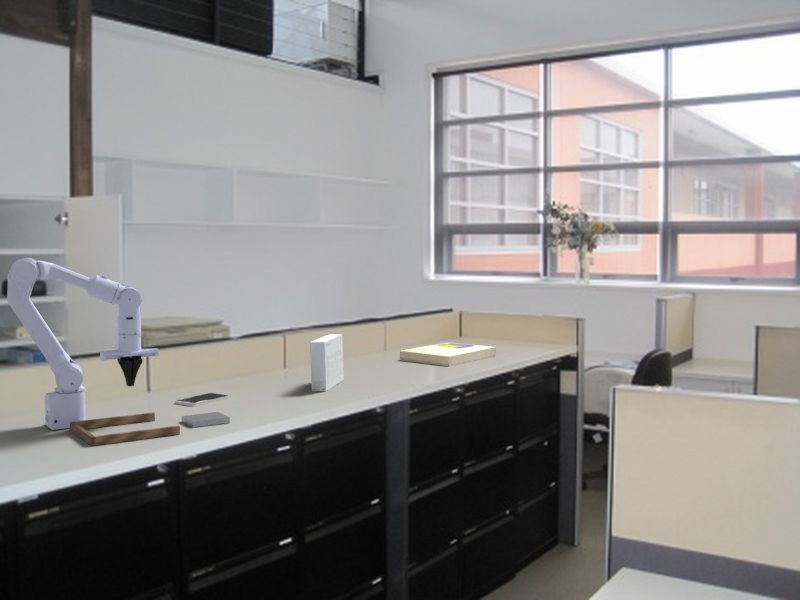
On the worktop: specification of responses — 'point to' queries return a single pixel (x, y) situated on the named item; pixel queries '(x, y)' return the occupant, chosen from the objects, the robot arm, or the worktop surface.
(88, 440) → the walnut u-shaped frame
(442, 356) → the puzzle box
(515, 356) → the worktop surface
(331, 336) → the skincare box
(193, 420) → the cover plate
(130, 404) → the worktop surface
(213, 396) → the smartphone
